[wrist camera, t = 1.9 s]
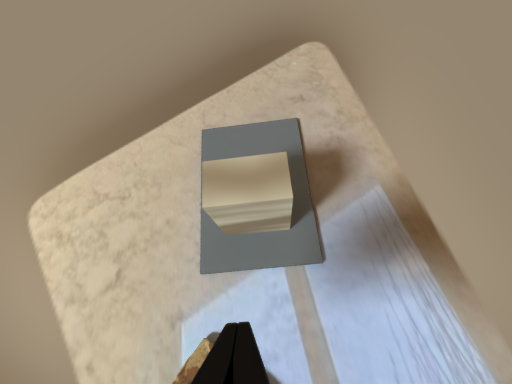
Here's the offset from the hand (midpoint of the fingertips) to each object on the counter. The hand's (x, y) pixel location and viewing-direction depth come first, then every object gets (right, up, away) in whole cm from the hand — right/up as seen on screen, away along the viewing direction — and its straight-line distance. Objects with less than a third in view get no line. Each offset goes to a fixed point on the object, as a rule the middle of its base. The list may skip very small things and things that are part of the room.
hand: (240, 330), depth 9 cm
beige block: (+1, +3, +15) cm, 16 cm away
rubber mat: (0, +5, +17) cm, 18 cm away
